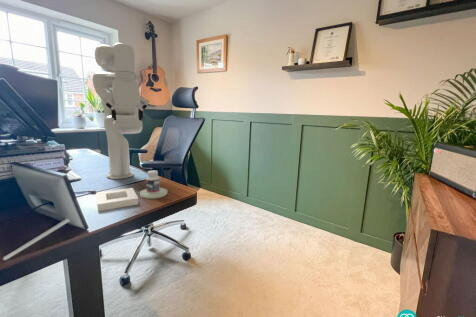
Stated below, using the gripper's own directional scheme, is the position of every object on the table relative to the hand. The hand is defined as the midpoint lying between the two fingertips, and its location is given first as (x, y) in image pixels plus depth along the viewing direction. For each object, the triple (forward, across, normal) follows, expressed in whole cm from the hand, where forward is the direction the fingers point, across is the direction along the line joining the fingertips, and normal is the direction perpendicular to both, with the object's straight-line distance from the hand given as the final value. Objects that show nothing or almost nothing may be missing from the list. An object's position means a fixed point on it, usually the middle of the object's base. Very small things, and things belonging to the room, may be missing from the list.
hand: (127, 120), depth 96 cm
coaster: (+30, -7, +11) cm, 33 cm away
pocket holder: (+30, +7, +13) cm, 34 cm away
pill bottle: (+30, -7, +11) cm, 32 cm away
